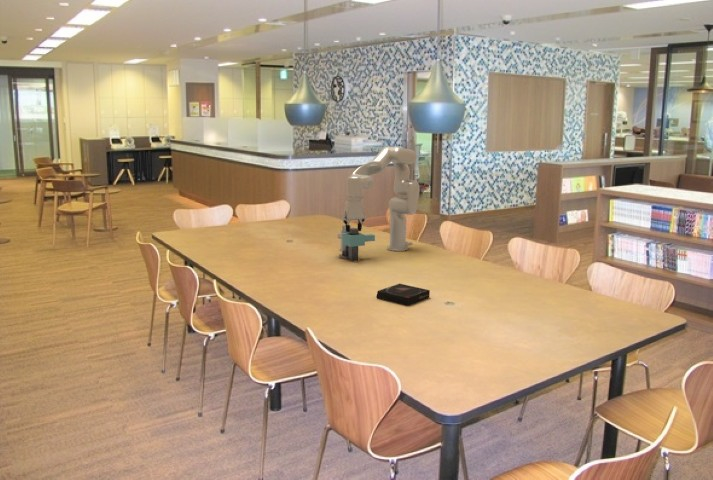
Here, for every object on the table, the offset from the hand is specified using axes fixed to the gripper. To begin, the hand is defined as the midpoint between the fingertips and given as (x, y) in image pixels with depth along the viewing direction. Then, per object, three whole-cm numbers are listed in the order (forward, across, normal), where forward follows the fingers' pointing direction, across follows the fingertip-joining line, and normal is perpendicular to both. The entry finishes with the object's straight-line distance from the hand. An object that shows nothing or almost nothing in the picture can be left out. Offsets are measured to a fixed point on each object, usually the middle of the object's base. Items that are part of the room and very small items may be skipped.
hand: (353, 231), depth 343 cm
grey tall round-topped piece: (+17, 0, -9) cm, 19 cm away
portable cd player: (+17, +13, +74) cm, 77 cm away
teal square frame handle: (+8, -4, 0) cm, 9 cm away
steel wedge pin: (+17, 0, 0) cm, 17 cm away
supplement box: (+17, -10, -25) cm, 32 cm away
